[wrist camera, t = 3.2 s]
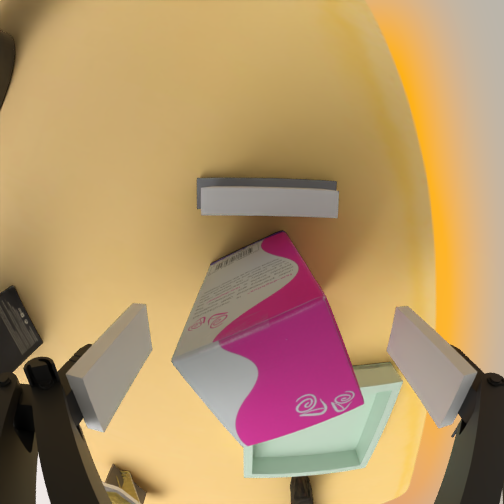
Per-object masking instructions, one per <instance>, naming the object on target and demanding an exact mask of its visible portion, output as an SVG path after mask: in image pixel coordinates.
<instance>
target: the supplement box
mask: <svg viewBox="0 0 504 504" xmlns="http://www.w3.org/2000/svg"><path fill="white" fill-rule="evenodd" d="M171 362H172V363H173V365H174V366H175V367H176V369H177V370H178V371H179V372H180V374H181V375H182V376H183V378H184V379H185V380H186V381H187V382H188V384H189V385H190V386H191V387H192V389H193V390H194V391H195V392H196V393H197V395H198V396H199V397H200V398H201V399H202V401H203V402H204V403H205V404H206V405H207V407H208V408H209V409H210V410H211V411H212V413H213V414H214V415H215V416H216V417H217V419H218V420H219V421H220V422H221V423H222V424H223V426H224V427H225V428H226V429H227V430H228V431H229V432H230V433H231V435H232V436H233V437H234V438H235V439H236V440H237V441H238V442H239V443H240V445H241V446H243V447H248V446H251V445H255V444H258V443H262V442H265V441H269V440H272V439H275V438H278V437H281V436H284V435H288V434H291V433H294V432H296V431H299V430H302V429H305V428H308V427H311V426H313V425H316V424H319V423H321V422H324V421H326V420H329V419H331V418H334V417H336V416H339V415H341V414H343V413H345V412H348V411H350V410H352V409H355V408H357V407H359V406H361V405H363V404H364V399H363V396H362V393H361V390H360V387H359V384H358V381H357V378H356V376H355V373H354V370H353V367H352V364H351V361H350V358H349V356H348V353H347V350H346V347H345V345H344V342H343V339H342V336H341V334H340V331H339V329H338V326H337V323H336V321H335V318H334V315H333V313H332V310H331V308H330V305H329V303H328V300H327V298H326V296H325V294H324V292H323V291H322V289H321V287H320V286H319V284H318V283H317V281H316V280H315V278H314V277H313V275H312V273H311V272H310V270H309V268H308V267H307V265H306V263H305V262H304V260H303V259H302V257H301V256H300V254H299V253H298V251H297V249H296V248H295V246H294V245H293V243H292V241H291V240H290V238H289V237H288V235H287V233H286V232H285V231H283V230H282V231H279V232H277V233H274V234H272V235H270V236H268V237H265V238H263V239H261V240H259V241H257V242H254V243H252V244H250V245H248V246H246V247H244V248H242V249H240V250H237V251H235V252H233V253H231V254H229V255H227V256H225V257H223V258H221V259H219V260H217V261H215V262H213V263H211V264H210V267H209V269H208V272H207V274H206V277H205V279H204V281H203V284H202V286H201V288H200V291H199V293H198V296H197V298H196V301H195V303H194V305H193V308H192V310H191V312H190V315H189V317H188V320H187V322H186V325H185V327H184V330H183V332H182V334H181V337H180V339H179V342H178V344H177V347H176V349H175V352H174V354H173V357H172V361H171Z"/></svg>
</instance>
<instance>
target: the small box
mask: <svg viewBox="0 0 504 504" xmlns="http://www.w3.org/2000/svg"><path fill="white" fill-rule="evenodd" d="M41 344H43V342H42V340H41V338H40V336H39V334H38V333H37V331H36V329H35V327H34V325H33V323H32V322H31V320H30V318H29V316H28V314H27V312H26V310H25V308H24V306H23V304H22V302H21V300H20V298H19V296H18V294H17V291H16V289H15V287H14V286H11V287H9V288H8V289H6V290H5V291H3V292H1V293H0V374H1V373H6V372H10V373H12V372H14V371H15V370H16V369H17V368H18V366H20V365H21V364H22V363H23V362H24V361H25V360H26V359H27V358H28V357H29V356H30V355H31V354H32V353H33V352H34V351H35V350H36V349H37V348H38V347H39V346H40V345H41Z"/></svg>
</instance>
